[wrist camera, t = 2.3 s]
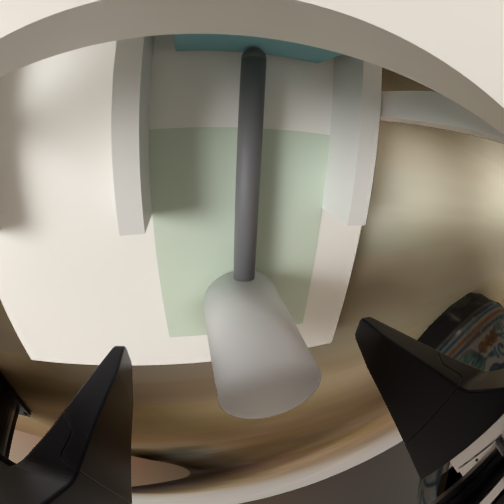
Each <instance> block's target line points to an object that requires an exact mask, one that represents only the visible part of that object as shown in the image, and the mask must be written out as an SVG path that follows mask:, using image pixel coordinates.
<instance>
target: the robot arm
mask: <svg viewBox="0 0 504 504" xmlns="http://www.w3.org/2000/svg"><path fill="white" fill-rule="evenodd" d="M355 337H356V340H357V343H358V345H359V348H360V350H361V353H362V355H363V358H364V360H365V363H366V365H367V368H368V370H369V372H370V374H371V376H372V378H373V380H374V382H375V384H376V386H377V387H378V389H379V391H380V393H381V395H382V397H383V399H384V401H385V403H386V405H387V408H388V410H389V412H390V414H391V416H392V418H393V420H394V422H395V424H396V426H397V428H398V430H399V433H400V435H401V437H402V439H403V441H404V443H405V446H406V448H407V450H408V452H409V455H410V457H411V459H412V461H413V464H414V466H415V468H416V471H417V473H418V475H419V477H420V479H421V480H423V479H424V478H426V477H427V476H429V475H430V474H432V473H433V472H435V471H436V470H438V469H439V468H441V467H442V466H444V465H445V464H447V463H448V462H449V461H450V462H451V464H452V465H453V466H452V467H451V468H449V469H448V470H447V471H446V472H444V473H443V474H442V475H441V479H440V483H439V487H438V491H437V494H436V499H435V500H433V501H432V502H431V503H429V504H501V503H503V502H504V369H500V370H495V371H484V370H481V369H478V368H476V367H473V366H471V365H468V364H466V363H463V362H461V361H458V360H456V359H453V358H451V357H449V356H447V355H445V354H443V353H441V352H439V351H437V350H435V349H433V348H431V347H429V346H427V345H425V344H423V343H421V342H419V341H417V340H415V339H413V338H411V337H409V336H407V335H405V334H403V333H401V332H399V331H397V330H395V329H393V328H391V327H389V326H387V325H385V324H383V323H381V322H379V321H377V320H375V319H373V318H372V317H366V318H362V319H361V320H360V322H359V325H358V327H357V330H356V333H355ZM18 414H20V415H24V416H28V417H30V415H31V412H30V410H29V409H28V408H27V407H26V406H25V405H24V403H23V402H22V401H21V400H20V399H19V397H18V396H17V395H16V394H15V392H14V391H13V390H12V389H11V387H10V386H9V385H8V383H7V382H6V381H5V379H4V378H3V377H2V375H1V374H0V504H132V493H131V433H132V414H133V388H132V363H131V360H130V357H129V354H128V351H127V349H126V347H125V346H114V347H113V348H112V349H111V351H110V352H109V353H108V354H107V356H106V357H105V358H104V359H103V361H102V362H101V363H100V364H99V366H98V367H97V368H96V370H95V371H94V372H93V373H92V375H91V376H90V377H89V379H88V380H87V381H86V382H85V384H84V385H83V386H82V388H81V389H80V390H79V392H78V393H77V394H76V396H75V397H74V398H73V400H72V401H71V402H70V404H69V405H68V406H67V408H66V409H65V412H63V413H62V414H61V416H60V417H59V419H58V420H57V421H56V422H55V424H54V425H53V426H52V428H51V429H50V430H49V431H48V432H47V434H46V435H45V436H44V437H43V438H42V439H41V441H40V442H39V443H38V444H37V445H36V446H35V447H34V448H33V449H32V451H31V452H30V453H29V454H28V455H27V456H26V457H25V458H24V459H23V460H22V461H21V462H19V463H18V464H16V463H14V462H12V461H10V460H9V459H8V458H9V453H10V447H11V443H12V438H13V433H14V429H15V425H16V421H17V418H18Z"/></svg>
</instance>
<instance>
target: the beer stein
mask: <svg viewBox="0 0 504 504" xmlns="http://www.w3.org/2000/svg"><path fill="white" fill-rule="evenodd" d="M417 341H419V342H421V343H423V344H425V345H427V346H429V347H431V348H433V349H435V350H437V351H439V352H441V353H443V354H445V355H447V356H449V357H451V358H453V359H456V360H458V361H461V362H463V363H466V364H468V365H471V366H473V367H476V368H478V369H481V370H484V371H495V370H500V369H504V308H503V307H502V306H501V304H500V303H498V302H495V301H492V300H490V299H488V298H486V297H485V296H483V295H482V294H476V293H469V294H468V295H466V296H465V297H463V298H462V299H460V300H459V301H457V302H456V303H454V304H453V305H451V306H450V307H449V308H448V309H447V310H446V311H445V312H444V313H443V314H442V315H441V316H440V317H439V318H438V319H437V320H436V321H434V322H433V323H432V324H431V325H430V326H429V327H428V329H427V330H426V331H425V332H424V333H423V335H422V336H421V337H420V338H419V339H418V340H417ZM450 463H451V462H450V461H449V462H448V463H447V464H445V465H444V466H442V467H441V468H439V469H438V470H436V471H435V472H433V473H432V474H430V475H429V476H427V477H426V478H424V479H423V480H421V479H420V480H419V487H418V496H417V501H418V504H429V503H431V502H432V501H433V500H435V499H436V494H437V491H438V487H439V483H440V479H441V475H442V474H443V473H444V472H446V471H447V470H448V468H449V464H450ZM501 504H504V502H503V503H501Z"/></svg>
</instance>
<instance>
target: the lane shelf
mask: <svg viewBox="0 0 504 504" xmlns="http://www.w3.org/2000/svg"><path fill="white" fill-rule="evenodd" d="M173 34H228V35H242V36H253V37H261V38H269V39H276V40H282V41H288V42H294V43H299V44H304V45H309V46H313V47H317V48H322V49H326V50H330V51H333V52H337V53H341V54H342V55H339V56H336V57H333V58H330V59H328V60H325V61H322V62H319V63H314V62H309V61H304V60H299V59H293V58H287V57H281V56H274V55H266V54H265V55H266V59H267V61H266V81H265V100H264V119H263V138H262V156H261V174H260V192H259V210H258V227H257V244H256V261H255V271H258V272H260V273H262V274H264V275H266V276H267V277H268V278H269V279H270V280H271V281H272V282H273V284H274V286H275V288H276V289H277V291H278V293H279V295H280V297H281V299H282V301H283V302H284V304H285V306H286V308H287V310H288V312H289V313H290V315H291V317H292V319H293V321H294V323H295V325H296V326H297V328H298V330H299V332H300V334H301V336H302V338H303V340H304V341H305V343H306V345H307V347H313V346H318V345H323V344H328V343H332V339H333V336H334V333H335V330H336V327H337V323H338V320H339V317H340V313H341V310H342V306H343V302H344V299H345V295H346V291H347V288H348V284H349V280H350V276H351V272H352V267H353V263H354V259H355V255H356V250H357V245H358V241H359V236H360V231H361V226H362V225H365V224H366V219H367V213H368V208H369V202H370V196H371V190H372V183H373V176H374V169H375V162H376V153H377V144H378V134H379V123H380V121H390V122H400V123H408V124H415V125H422V126H428V127H434V128H440V129H445V130H450V131H455V132H460V133H464V134H469V135H473V136H477V137H481V138H485V139H489V140H492V141H496V142H499V143H502V144H504V0H0V299H1V301H2V304H3V306H4V308H5V310H6V312H7V315H8V317H9V319H10V321H11V323H12V325H13V327H14V329H15V331H16V333H17V335H18V337H19V339H20V340H21V342H22V344H23V346H24V348H25V349H26V351H27V353H28V354H29V356H30V358H31V360H38V361H47V362H58V363H71V364H88V365H99V364H100V363H101V362H102V361H103V359H104V358H105V357H106V356H107V354H108V353H109V352H110V351H111V349H112V348H113V347H114V346H125V347H126V349H127V351H128V354H129V357H130V360H131V363H132V365H166V364H184V363H198V362H210V361H211V356H210V350H209V343H208V337H207V330H206V323H205V316H204V308H203V299H204V295H205V293H206V291H207V289H208V287H209V286H210V285H211V284H212V283H213V281H215V280H216V279H217V278H219V277H220V276H222V275H224V274H226V273H228V272H231V271H234V227H235V190H236V160H237V134H238V111H239V91H240V72H241V57H242V54H243V53H244V52H233V51H176V49H175V42H174V35H173ZM382 67H383V68H385V69H388V70H390V71H393V72H395V73H398V74H400V75H402V76H405V77H407V78H409V79H411V80H414V81H416V82H418V83H420V84H422V85H424V86H426V87H428V88H430V89H432V90H434V91H381V89H382Z"/></svg>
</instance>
